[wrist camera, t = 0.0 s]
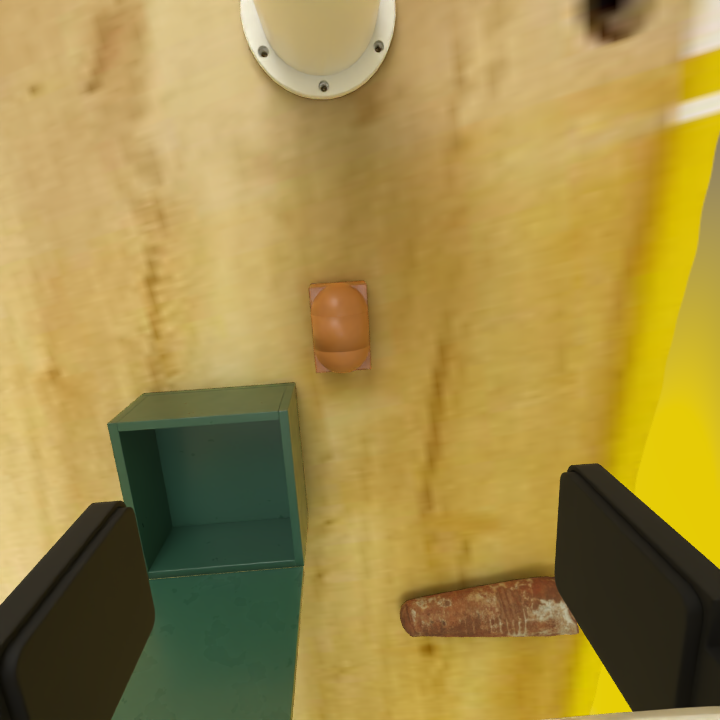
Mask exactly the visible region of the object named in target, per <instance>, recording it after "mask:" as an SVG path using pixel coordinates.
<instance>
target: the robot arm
mask: <svg viewBox="0 0 720 720" xmlns="http://www.w3.org/2000/svg"><path fill="white" fill-rule="evenodd" d="M240 15H241V20H242V25H243V30H244V33H245V36H246V39H247V42H248V44H249V47H250V49H251V51H252V53H253V55H254V57H255V59H256V60H257V62H258V63H259V65H260V66H261V67H262V69H263V70H264V72H265V73H266V74H267V75H268V76H269V77H270V78H271V79H272V80H273V81H274V82H276V83H277V84H278V85H280V86H281V87H283V88H284V89H286V90H287V91H289V92H292V93H294V94H296V95H298V96H301V97H306V98H310V99H332V98H337V97H342V96H344V95H346V94H349V93H351V92H353V91H355V90H356V89H358V88H359V87H361V86H362V85H363V84H365V83H366V82H367V81H368V80H369V79H370V78H371V77H372V76H373V75H374V74H375V72H376V71H377V70H378V68H379V67H380V65H381V63H382V62H383V60H384V59H385V56H386V54H387V51H388V49H389V46H390V43H391V39H392V36H393V32H394V25H395V17H396V12H395V0H240ZM376 47H379V48H380V49H381V51H380V52H376V51H375V48H376ZM264 52H265V53H267V57H265V58H263V57H262V54H263V53H264ZM323 86H325V87H326V88H327V90H326V91H325V92H323V91H322V90H321V88H322V87H323ZM555 583H556V587H557V589H558V592H559V594H560V595H561V597H562V599H563V600H564V602H565V604H566V605H567V607H568V608H569V610H570V612H571V613H572V615H573V616H574V618H575V620H576V621H577V623H578V624H579V626H580V628H581V629H582V631H583V632H584V634H585V636H586V637H587V639H588V640H589V642H590V644H591V645H592V647H593V648H594V650H595V652H596V653H597V655H598V657H599V658H600V660H601V661H602V663H603V665H604V666H605V667H606V669H607V671H608V673H609V674H610V676H611V677H612V679H613V681H614V682H615V684H616V685H617V687H618V689H619V690H620V692H621V693H622V695H623V697H624V698H625V700H626V701H627V703H628V704H629V706H630V708H631V709H632V711H633V712H623V713H609V714H599V715H587V716H576V717H565V718H554V719H543V720H720V569H718V568H717V567H716V566H715V565H714V564H713V563H712V562H711V561H709V560H708V559H707V558H706V557H705V556H704V555H703V554H701V553H700V552H699V551H698V550H697V549H696V548H695V547H694V546H692V545H691V544H690V543H689V542H688V541H687V540H686V539H684V538H683V537H682V536H681V535H680V534H678V532H676V531H675V530H674V529H673V528H672V527H671V526H670V525H668V524H667V523H666V522H665V521H664V520H663V519H661V518H660V517H659V516H658V515H657V514H656V513H655V512H654V511H652V510H651V509H650V508H649V507H648V506H647V505H645V504H644V503H643V502H642V501H641V500H640V499H639V498H638V497H636V496H635V495H634V494H633V493H632V492H631V491H630V490H628V489H627V488H626V487H625V486H624V485H623V484H622V483H620V482H619V481H618V480H617V479H616V478H615V477H614V476H612V475H611V474H610V473H609V472H608V471H607V470H606V469H604V468H603V467H602V466H601V465H599V464H582V465H571V466H570V467H569V468H568V470H567V472H565V473H562V475H561V478H560V490H559V507H558V524H557V540H556V557H555ZM154 622H155V608H154V603H153V598H152V593H151V588H150V584H149V579H148V574H147V569H146V564H145V560H144V555H143V550H142V545H141V541H140V536H139V531H138V526H137V521H136V517H135V512H134V510H133V508H131V507H126V505H125V503H124V502H122V501H112V502H99V503H92V504H91V505H90V506H89V507H88V508H87V509H86V510H85V511H84V512H83V514H82V515H81V516H80V517H79V518H78V519H77V520H76V521H75V522H74V524H73V525H72V526H71V527H70V528H69V529H68V530H67V531H66V532H65V534H64V535H63V536H62V537H61V538H60V539H59V540H58V541H57V543H56V544H55V545H54V546H53V547H52V548H51V549H50V550H49V551H48V553H47V554H46V555H45V556H44V557H43V558H42V559H41V560H40V562H39V563H38V564H37V565H36V566H35V567H34V568H33V569H32V570H31V572H30V573H29V574H28V575H27V576H26V577H25V578H24V579H23V580H22V582H21V583H20V584H19V585H18V586H17V587H16V588H15V589H14V591H13V592H12V593H11V594H10V595H9V596H8V597H7V598H6V599H5V601H4V602H3V603H2V604H1V605H0V720H111V719H112V717H113V714H114V712H115V710H116V708H117V706H118V704H119V701H120V699H121V697H122V695H123V693H124V690H125V688H126V686H127V684H128V682H129V680H130V677H131V675H132V673H133V671H134V669H135V666H136V664H137V662H138V660H139V658H140V656H141V653H142V651H143V649H144V647H145V645H146V642H147V640H148V638H149V636H150V634H151V632H152V629H153V626H154Z"/></svg>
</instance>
